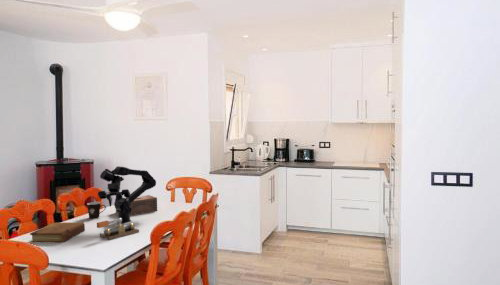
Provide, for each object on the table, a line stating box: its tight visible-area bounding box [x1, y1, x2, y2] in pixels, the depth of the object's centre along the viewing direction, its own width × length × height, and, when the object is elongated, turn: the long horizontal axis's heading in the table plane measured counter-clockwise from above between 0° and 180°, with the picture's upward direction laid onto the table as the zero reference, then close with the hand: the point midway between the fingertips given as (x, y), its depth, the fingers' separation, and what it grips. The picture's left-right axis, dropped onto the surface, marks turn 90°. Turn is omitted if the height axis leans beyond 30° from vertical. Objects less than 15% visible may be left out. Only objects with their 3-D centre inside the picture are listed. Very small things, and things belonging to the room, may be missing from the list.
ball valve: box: [99, 222, 140, 240], centre depth 216 cm, size 19×10×7 cm, turn 140°
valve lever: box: [96, 217, 122, 229], centre depth 211 cm, size 3×15×3 cm, turn 143°
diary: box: [29, 222, 86, 244], centre depth 214 cm, size 23×19×6 cm
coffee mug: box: [86, 201, 107, 220], centre depth 258 cm, size 12×9×10 cm
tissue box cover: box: [115, 194, 158, 216], centre depth 275 cm, size 26×14×10 cm, turn 129°
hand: (112, 206), depth 230 cm, fingers open, 2 cm apart
